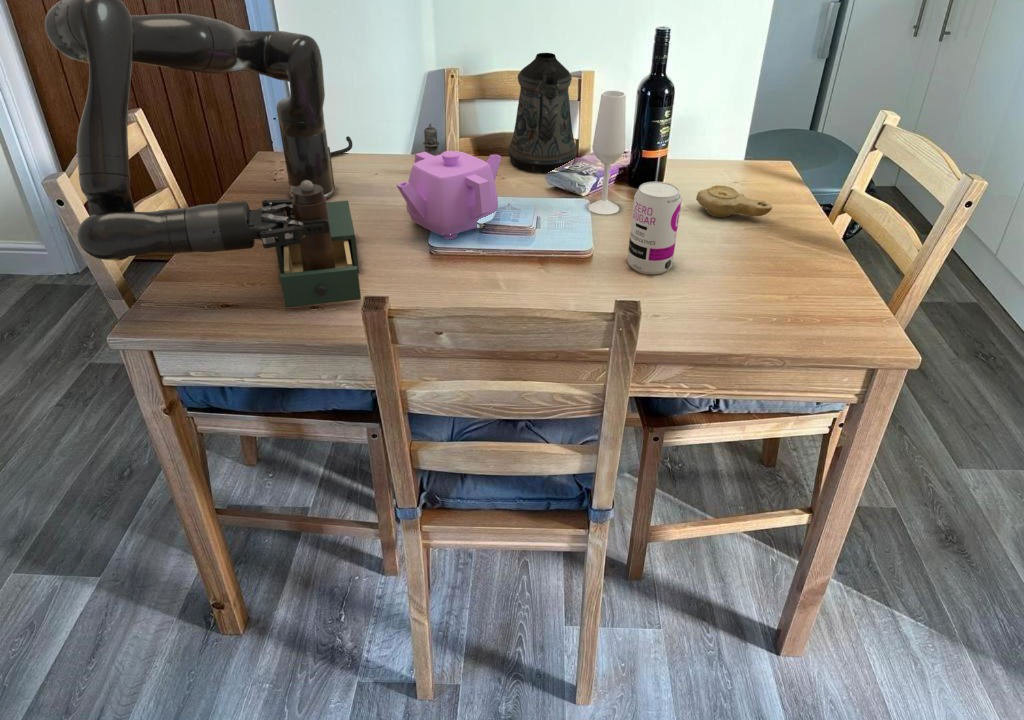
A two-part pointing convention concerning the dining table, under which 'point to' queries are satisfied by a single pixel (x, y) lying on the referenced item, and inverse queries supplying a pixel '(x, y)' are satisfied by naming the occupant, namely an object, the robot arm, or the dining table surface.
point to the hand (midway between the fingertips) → (327, 217)
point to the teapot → (451, 191)
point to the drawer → (319, 278)
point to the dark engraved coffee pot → (543, 117)
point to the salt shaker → (431, 140)
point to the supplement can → (654, 227)
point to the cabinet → (334, 230)
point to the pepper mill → (311, 207)
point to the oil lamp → (730, 202)
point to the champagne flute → (609, 142)
